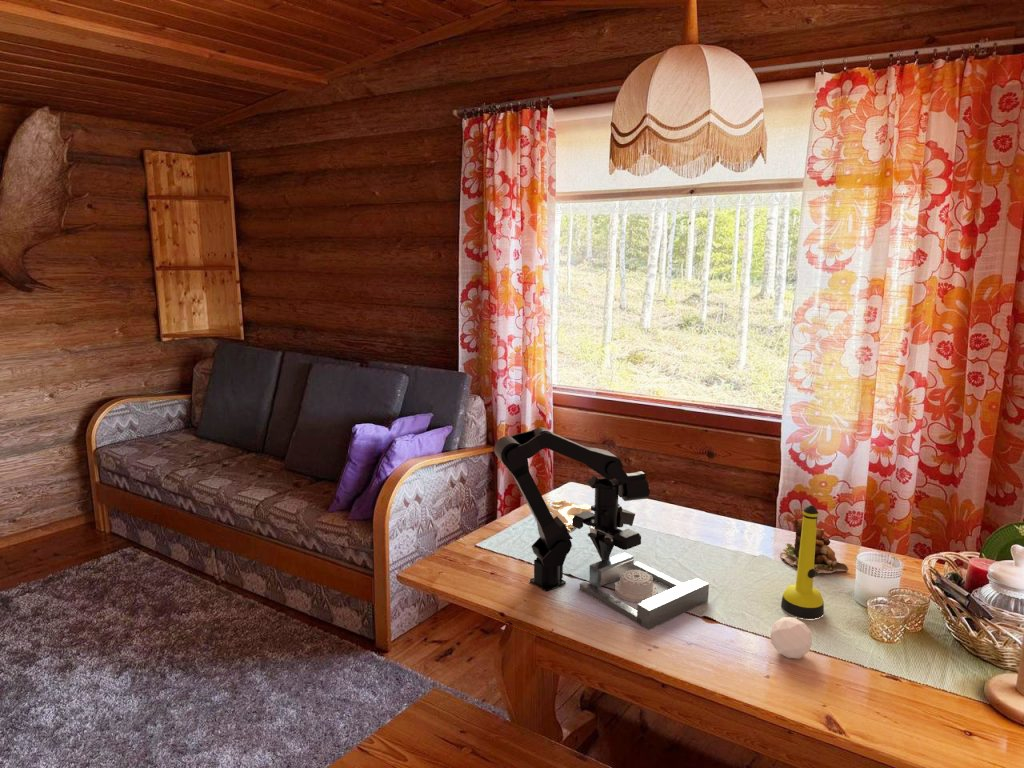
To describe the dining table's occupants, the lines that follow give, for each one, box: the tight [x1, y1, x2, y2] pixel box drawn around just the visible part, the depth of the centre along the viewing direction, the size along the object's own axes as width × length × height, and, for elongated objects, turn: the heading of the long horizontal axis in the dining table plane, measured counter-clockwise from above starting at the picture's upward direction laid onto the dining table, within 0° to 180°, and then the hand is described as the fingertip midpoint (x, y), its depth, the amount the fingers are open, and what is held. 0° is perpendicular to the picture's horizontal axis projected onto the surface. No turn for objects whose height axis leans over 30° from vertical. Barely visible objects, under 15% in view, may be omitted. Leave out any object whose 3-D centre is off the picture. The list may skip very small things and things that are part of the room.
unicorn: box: [545, 499, 593, 533], centre depth 205 cm, size 20×4×17 cm
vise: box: [579, 561, 710, 631], centre depth 159 cm, size 20×22×4 cm
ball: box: [770, 616, 813, 659], centre depth 135 cm, size 8×8×8 cm
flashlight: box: [780, 504, 825, 619], centre depth 150 cm, size 25×9×9 cm
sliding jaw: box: [588, 552, 634, 588], centre depth 167 cm, size 12×4×5 cm, turn 126°
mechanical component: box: [614, 569, 659, 603], centre depth 160 cm, size 10×4×10 cm
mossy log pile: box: [779, 516, 849, 574], centre depth 174 cm, size 14×15×12 cm
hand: (604, 561), depth 169 cm, fingers closed
